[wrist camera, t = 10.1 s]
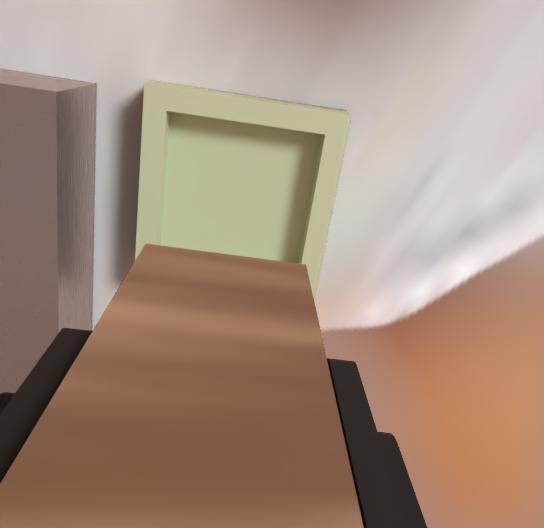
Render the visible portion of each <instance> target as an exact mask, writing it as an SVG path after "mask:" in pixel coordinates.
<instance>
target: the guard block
mask: <svg viewBox="0 0 544 528" xmlns="http://www.w3.org/2000/svg"><path fill="white" fill-rule="evenodd" d="M96 85H97V84H96V83H90V82H83V81H76V80H70V79H63V78H57V77H50V76H44V75H37V74H31V73H24V72H18V71H11V70H5V69H0V394H1V393H3V392H9V393H16V391H17V390H18V389H19V387H20V386H21V384H22V383H23V382H24V380H25V379H26V378H27V376H28V375H29V373H30V372H31V371H32V369H33V368H34V366H35V365H36V364H37V362H38V361H39V360H40V358H41V357H42V355H43V354H44V353H45V351H46V350H47V348H48V347H49V346H50V344H51V343H52V342H53V340H54V339H55V337H56V336H57V335H58V333H59V332H60V330H61V329H62V328H72V329H80V330H89V331H92V307H93V251H94V196H95V140H96Z"/></svg>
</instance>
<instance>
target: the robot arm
mask: <svg viewBox="0 0 544 528" xmlns="http://www.w3.org/2000/svg"><path fill="white" fill-rule="evenodd" d="M91 333H92V331H89V330H80V329H72V328H62V329H61V330H60V332H59V333H58V335H57V336H56V337H55V339H54V340H53V342H52V343H51V344H50V346H49V347H48V348H47V350H46V351H45V353H44V354H43V355H42V357H41V358H40V360H39V361H38V362H37V364H36V365H35V366H34V368H33V369H32V371H31V372H30V373H29V375H28V376H27V378H26V379H25V380H24V382H23V383H22V384H21V386H20V387H19V389H18V390H17V391H16V393H9V392H3V393H1V394H0V483H1V482H2V480H3V478H4V477H5V475H6V473H7V472H8V470H9V468H10V467H11V465H12V463H13V462H14V460H15V458H16V457H17V455H18V453H19V452H20V450H21V449H22V447H23V445H24V444H25V442H26V440H27V439H28V437H29V435H30V434H31V432H32V430H33V429H34V427H35V425H36V424H37V422H38V420H39V419H40V417H41V415H42V414H43V412H44V411H45V409H46V407H47V406H48V404H49V402H50V401H51V399H52V397H53V396H54V394H55V392H56V391H57V389H58V387H59V386H60V384H61V382H62V381H63V379H64V377H65V376H66V374H67V373H68V371H69V369H70V368H71V366H72V364H73V363H74V361H75V359H76V358H77V356H78V354H79V353H80V351H81V349H82V348H83V346H84V344H85V343H86V341H87V340H88V338H89V336H90V335H91ZM327 362H328V367H329V371H330V376H331V381H332V385H333V390H334V394H335V399H336V403H337V408H338V413H339V417H340V422H341V426H342V431H343V435H344V440H345V445H346V449H347V454H348V458H349V463H350V467H351V472H352V477H353V481H354V486H355V490H356V495H357V499H358V504H359V509H360V513H361V518H362V522H363V527H364V528H427V526H426V523H425V520H424V518H423V515H422V512H421V509H420V506H419V504H418V501H417V498H416V495H415V492H414V489H413V486H412V483H411V481H410V478H409V475H408V472H407V469H406V466H405V464H404V461H403V458H402V455H401V452H400V449H399V447H398V444H397V442H396V439H395V437H394V436H393V435H392V434H391V433H383V432H377V430H376V426H375V423H374V420H373V417H372V413H371V410H370V407H369V404H368V400H367V397H366V394H365V391H364V387H363V384H362V381H361V378H360V375H359V372H358V368H357V365H356V363H355V362H353V361H345V360H337V359H328V358H327Z"/></svg>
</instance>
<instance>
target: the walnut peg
mask: <svg viewBox="0 0 544 528" xmlns="http://www.w3.org/2000/svg"><path fill="white" fill-rule="evenodd" d="M0 528H364V527H363V522H362V518H361V513H360V509H359V504H358V499H357V495H356V490H355V486H354V481H353V477H352V472H351V467H350V463H349V458H348V454H347V449H346V445H345V440H344V435H343V431H342V426H341V422H340V417H339V413H338V408H337V403H336V399H335V394H334V390H333V385H332V381H331V376H330V371H329V367H328V362H327V358H326V354H325V349H324V344H323V339H322V335H321V330H320V326H319V321H318V317H317V312H316V307H315V303H314V298H313V294H312V289H311V285H310V280H309V275H308V271H307V266H306V264H299V263H291V262H284V261H276V260H268V259H261V258H253V257H245V256H238V255H230V254H222V253H215V252H207V251H199V250H192V249H184V248H176V247H169V246H161V245H153V244H145V245H144V247H143V249H142V250H141V252H140V254H139V255H138V257H137V259H136V260H135V262H134V264H133V265H132V267H131V268H130V270H129V272H128V273H127V275H126V277H125V278H124V280H123V282H122V283H121V285H120V287H119V288H118V290H117V292H116V293H115V295H114V297H113V298H112V300H111V302H110V303H109V305H108V306H107V308H106V310H105V311H104V313H103V315H102V316H101V318H100V320H99V321H98V323H97V325H96V326H95V328H94V330H93V331H92V333H91V335H90V336H89V338H88V340H87V341H86V343H85V344H84V346H83V348H82V349H81V351H80V353H79V354H78V356H77V358H76V359H75V361H74V363H73V364H72V366H71V368H70V369H69V371H68V373H67V374H66V376H65V377H64V379H63V381H62V382H61V384H60V386H59V387H58V389H57V391H56V392H55V394H54V396H53V397H52V399H51V401H50V402H49V404H48V406H47V407H46V409H45V411H44V412H43V414H42V415H41V417H40V419H39V420H38V422H37V424H36V425H35V427H34V429H33V430H32V432H31V434H30V435H29V437H28V439H27V440H26V442H25V444H24V445H23V447H22V449H21V450H20V452H19V453H18V455H17V457H16V458H15V460H14V462H13V463H12V465H11V467H10V468H9V470H8V472H7V473H6V475H5V477H4V478H3V480H2V482H1V483H0Z"/></svg>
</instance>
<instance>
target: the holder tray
mask: <svg viewBox="0 0 544 528" xmlns="http://www.w3.org/2000/svg"><path fill="white" fill-rule="evenodd" d="M351 118H352V115H351V114H350V113H349V112H347V111H346V110H339V109H333V108H326V107H320V106H313V105H307V104H300V103H294V102H287V101H281V100H275V99H268V98H262V97H255V96H249V95H242V94H236V93H229V92H223V91H216V90H210V89H203V88H197V87H191V86H184V85H178V84H171V83H165V82H158V81H149V82H146V83H144V96H143V115H142V135H141V154H140V174H139V193H138V213H137V232H136V251H135V260H136V259H137V257H138V255H139V254H140V252H141V250H142V249H143V247H144V245H145V244H153V245H161V246H169V247H176V248H184V249H192V250H199V251H207V252H215V253H222V254H230V255H238V256H245V257H253V258H261V259H268V260H276V261H284V262H291V263H299V264H306V266H307V271H308V275H309V280H310V285H311V289H312V294H313V298H315V296H316V291H317V286H318V281H319V276H320V271H321V266H322V261H323V256H324V251H325V247H326V242H327V237H328V232H329V227H330V222H331V217H332V212H333V207H334V202H335V197H336V192H337V187H338V182H339V177H340V172H341V167H342V162H343V157H344V152H345V147H346V142H347V138H348V133H349V128H350V123H351Z"/></svg>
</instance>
